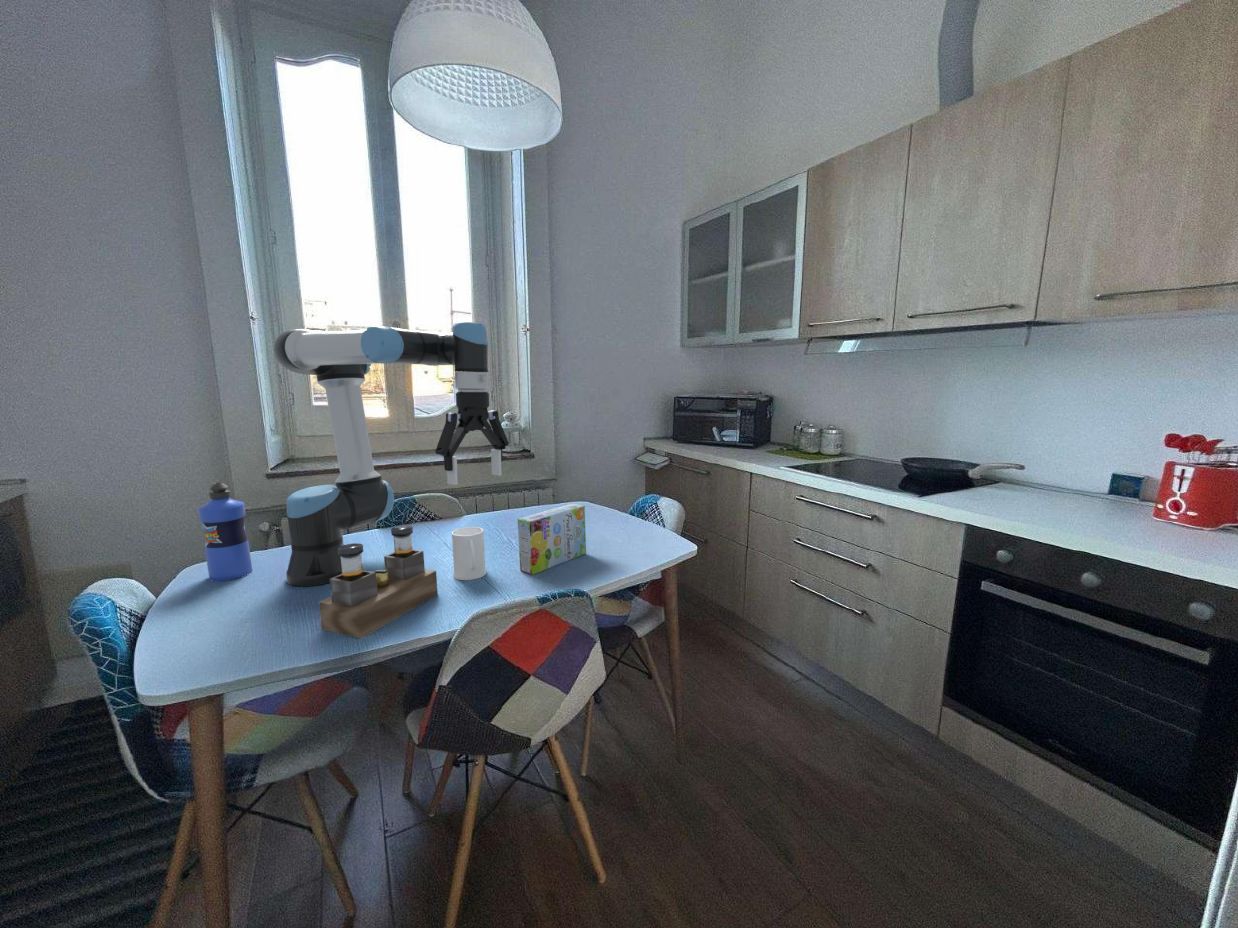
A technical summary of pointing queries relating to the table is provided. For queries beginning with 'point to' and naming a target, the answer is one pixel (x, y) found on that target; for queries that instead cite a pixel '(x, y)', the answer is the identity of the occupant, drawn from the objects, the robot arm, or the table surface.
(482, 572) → the mug
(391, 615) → the mount
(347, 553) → the knob near
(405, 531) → the knob far
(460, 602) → the table surface
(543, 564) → the snack box
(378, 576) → the screw
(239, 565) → the water bottle
